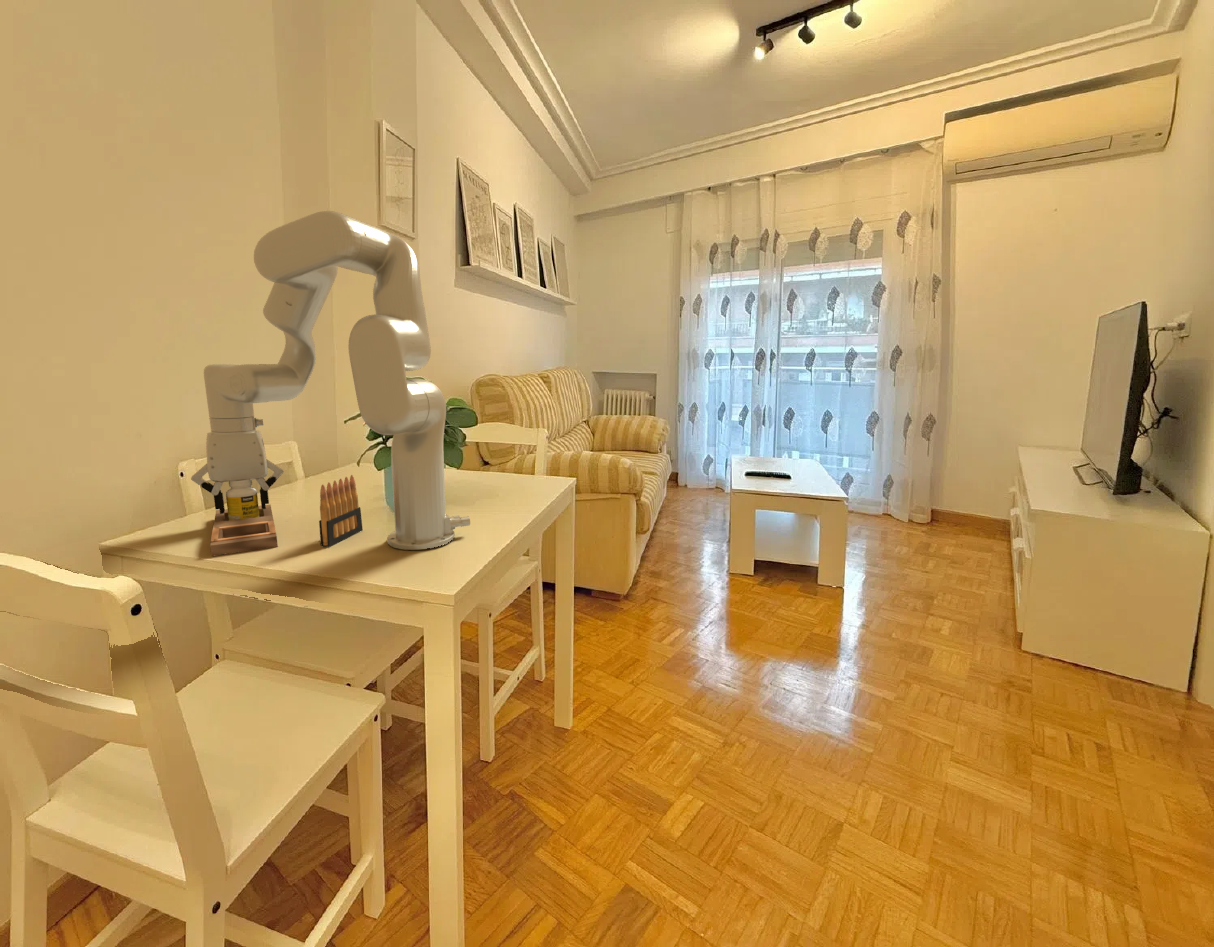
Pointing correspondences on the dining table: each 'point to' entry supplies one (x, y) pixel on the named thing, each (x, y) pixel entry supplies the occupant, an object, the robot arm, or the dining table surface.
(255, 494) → the supplement bottle
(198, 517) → the dining table surface
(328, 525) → the ammunition clip
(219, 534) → the hole rail
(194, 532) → the dining table surface
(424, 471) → the robot arm
